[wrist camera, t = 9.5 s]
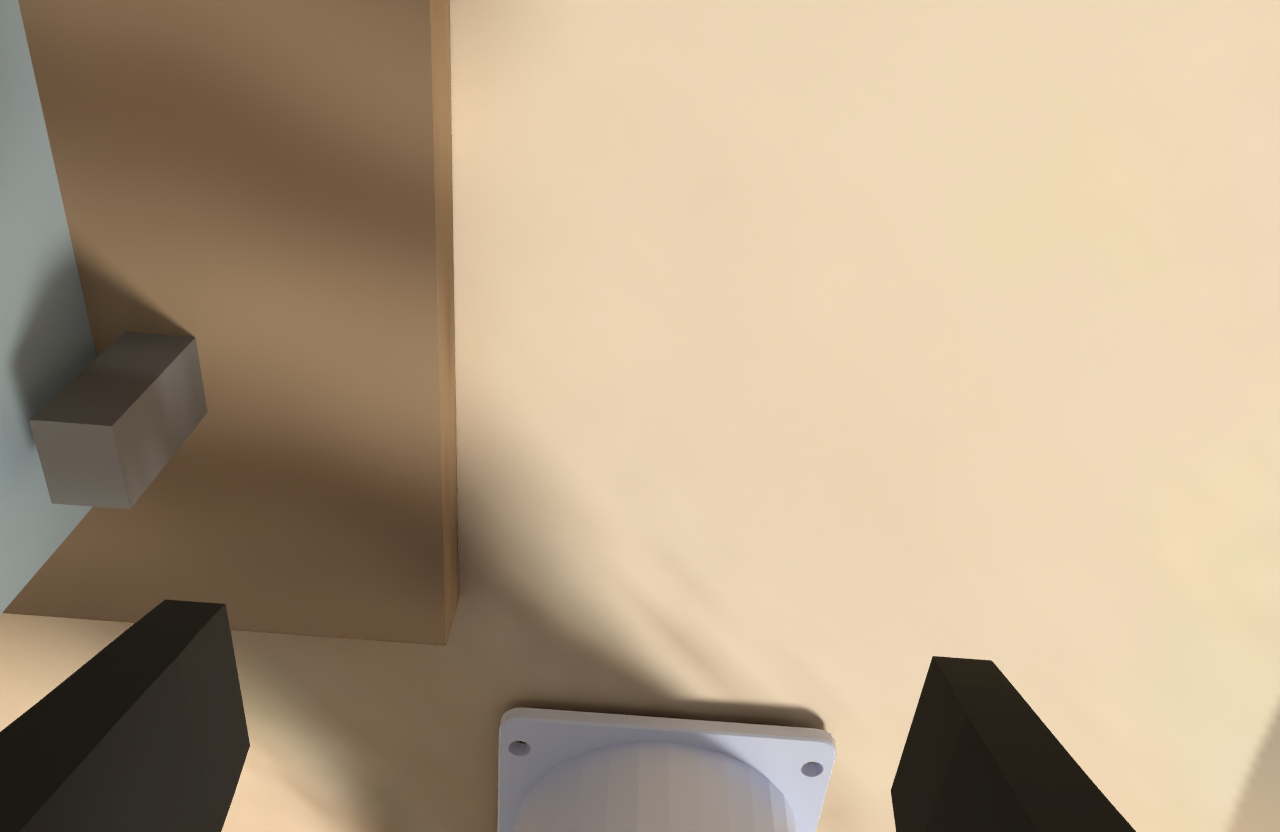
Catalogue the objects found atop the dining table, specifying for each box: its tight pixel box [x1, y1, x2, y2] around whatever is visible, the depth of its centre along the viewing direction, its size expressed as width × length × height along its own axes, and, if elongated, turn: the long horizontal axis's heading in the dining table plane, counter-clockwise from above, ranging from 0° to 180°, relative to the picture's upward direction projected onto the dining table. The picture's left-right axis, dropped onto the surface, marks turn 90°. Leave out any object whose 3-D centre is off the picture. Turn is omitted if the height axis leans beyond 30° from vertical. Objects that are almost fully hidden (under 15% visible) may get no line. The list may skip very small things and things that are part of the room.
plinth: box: [2, 0, 459, 645], centre depth 15 cm, size 20×12×4 cm, turn 175°
